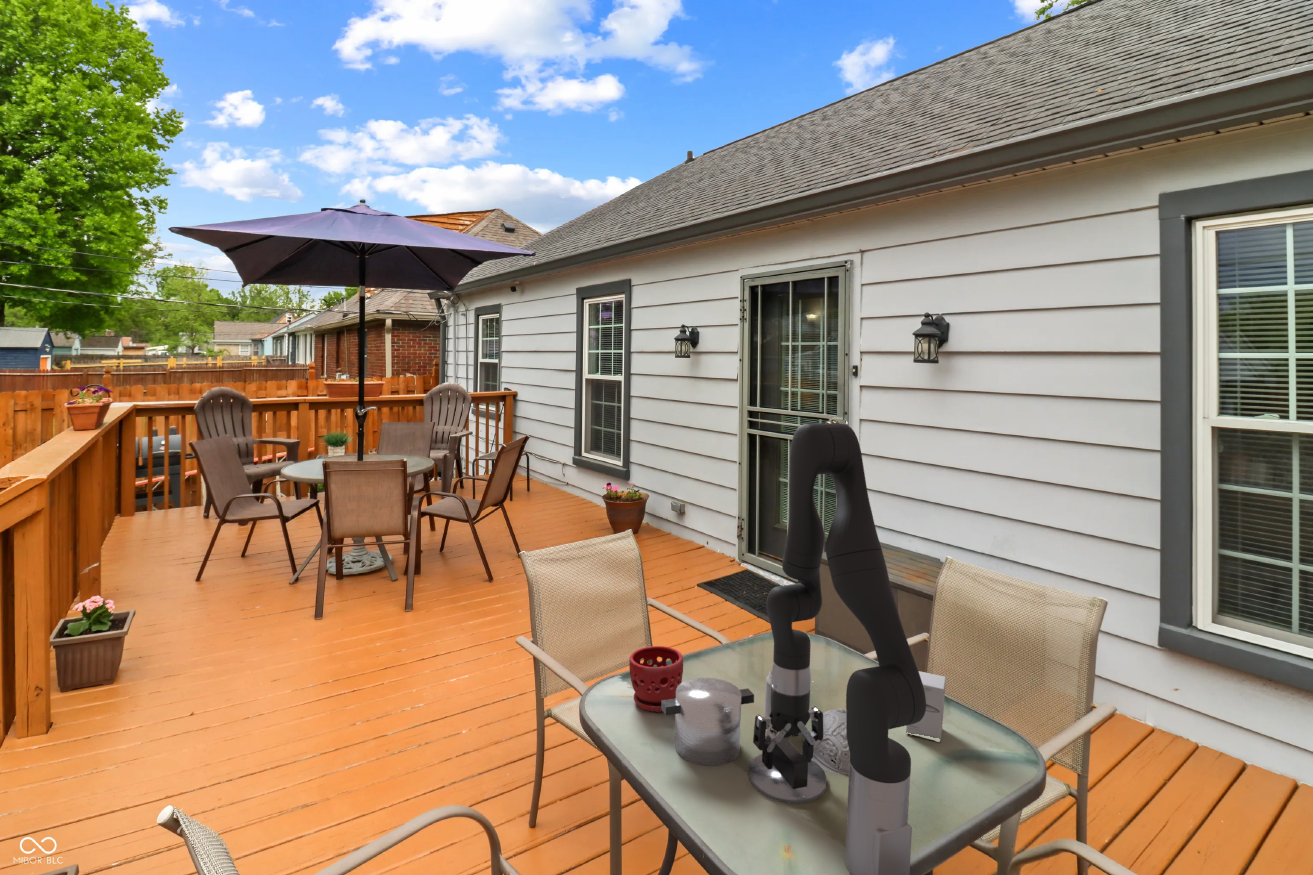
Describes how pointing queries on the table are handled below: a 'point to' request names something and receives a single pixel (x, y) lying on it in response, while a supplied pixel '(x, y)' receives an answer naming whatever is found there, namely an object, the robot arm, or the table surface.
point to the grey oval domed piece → (833, 743)
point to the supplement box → (931, 707)
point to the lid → (788, 776)
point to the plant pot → (655, 676)
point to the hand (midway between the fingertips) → (787, 763)
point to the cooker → (707, 719)
